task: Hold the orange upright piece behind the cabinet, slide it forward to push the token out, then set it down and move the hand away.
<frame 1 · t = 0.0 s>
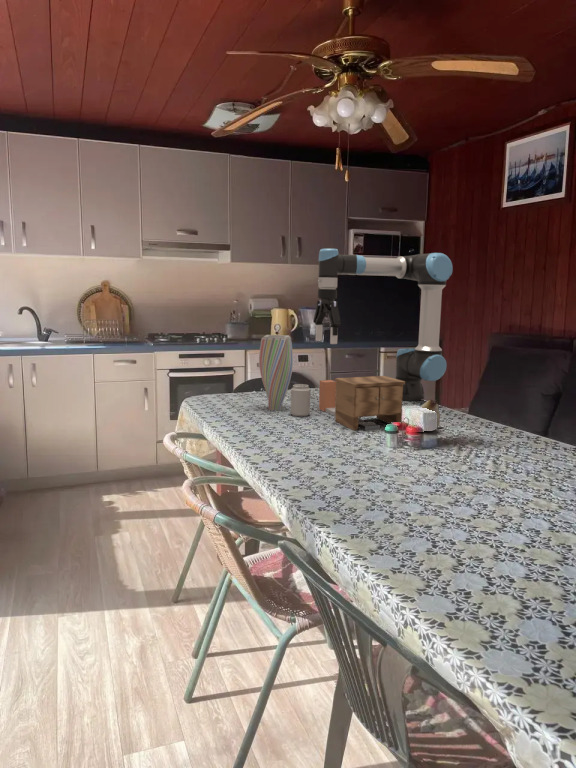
hand: (326, 342, 235), 28 cm above the table, fingers open, 13 cm apart
cabinet: (367, 423, 217), on the table
orange upright piece: (327, 409, 241), on the table
can: (300, 415, 230), on the table
token: (368, 429, 210), on the table
fruit: (425, 431, 208), on the table
vase: (275, 409, 241), on the table
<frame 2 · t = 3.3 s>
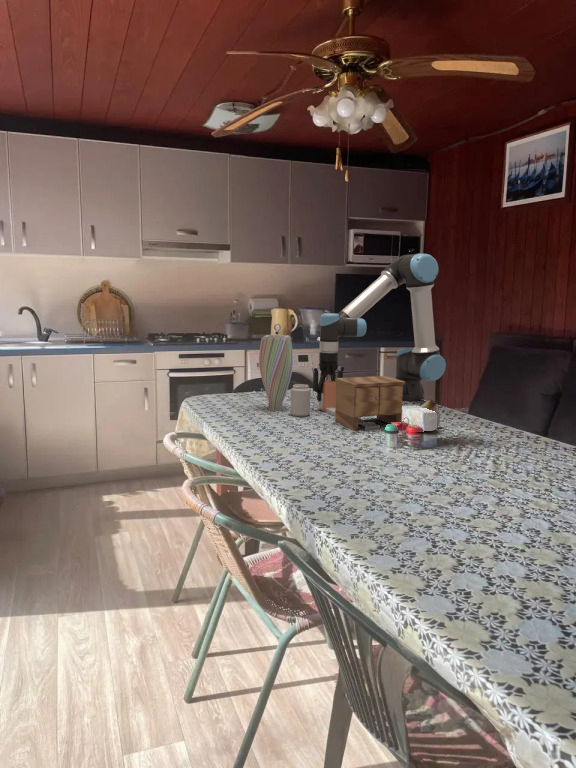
hand: (327, 408, 241), 1 cm above the table, fingers closed on orange upright piece, 5 cm apart
orange upright piece: (327, 409, 241), on the table, touching gripper
everything else where it was.
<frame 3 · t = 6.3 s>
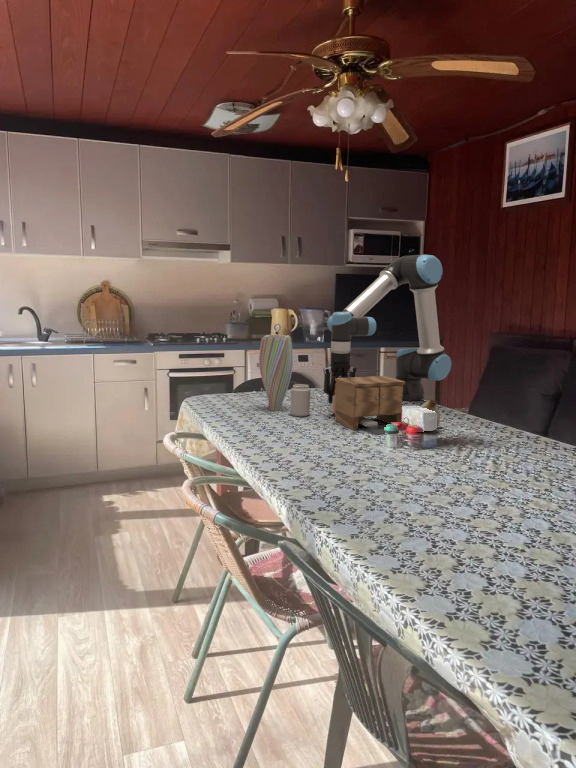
hand: (338, 410, 231), 2 cm above the table, fingers closed on orange upright piece, 5 cm apart
orange upright piece: (338, 412, 231), point 1 cm above the table, touching gripper
token: (378, 432, 204), on the table
everything else where it was.
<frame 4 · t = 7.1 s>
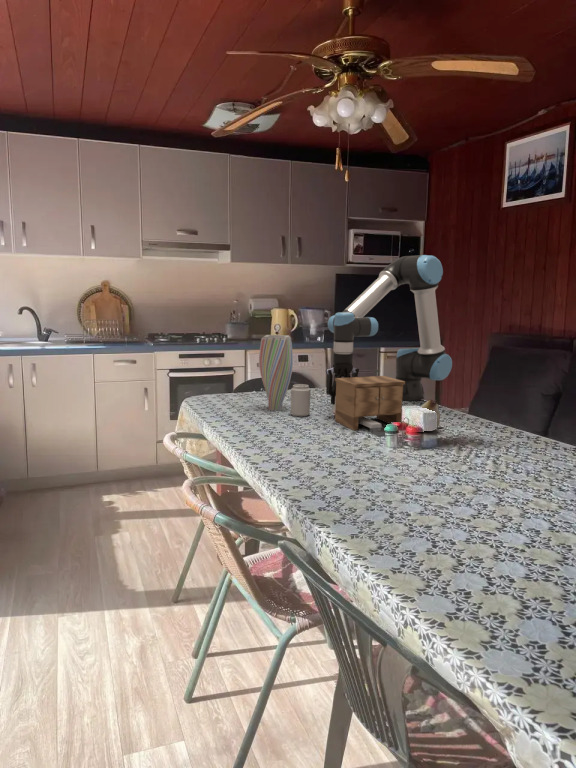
hand: (341, 411, 229), 2 cm above the table, fingers closed on orange upright piece, 5 cm apart
orange upright piece: (341, 413, 229), point 1 cm above the table, touching gripper
token: (381, 435, 203), on the table
everything else where it was.
when the fingers open (1 cm above the table, at t = 8.8 s): orange upright piece stays where it is, on the table.
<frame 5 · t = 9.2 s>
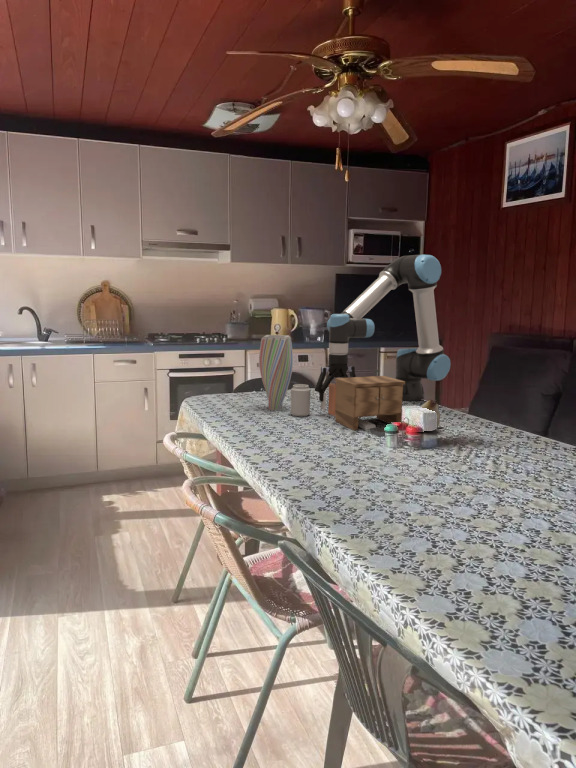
hand: (336, 408, 233), 2 cm above the table, fingers open, 11 cm apart
orange upright piece: (336, 414, 233), on the table
everything else where it was.
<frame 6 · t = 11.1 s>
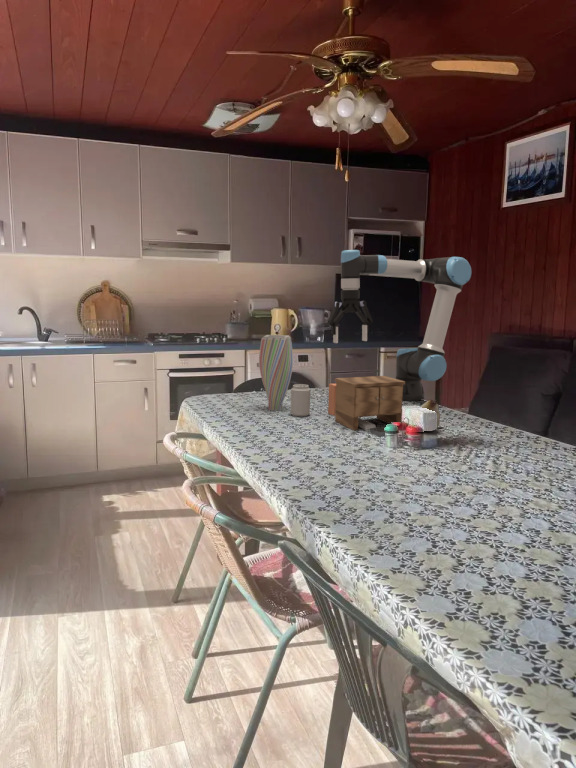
hand: (350, 341, 239), 28 cm above the table, fingers open, 13 cm apart
nothing on the table moved.
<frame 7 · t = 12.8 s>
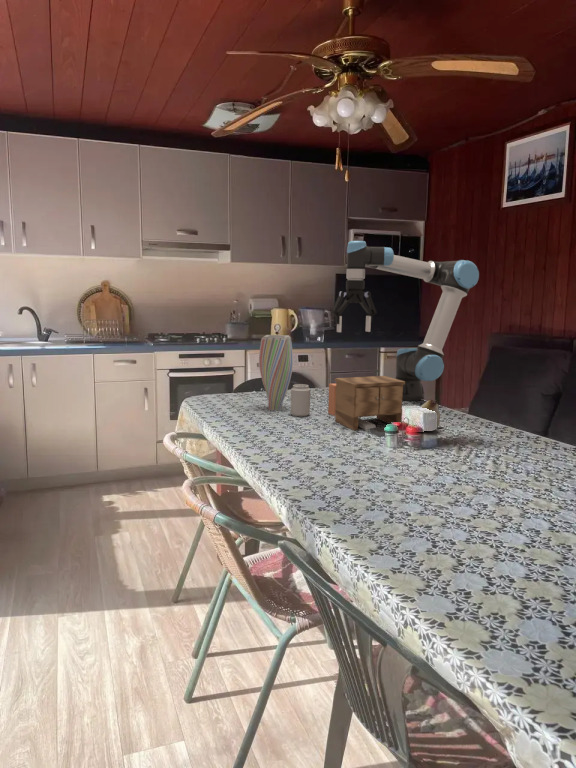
hand: (353, 331, 243), 32 cm above the table, fingers open, 13 cm apart
nothing on the table moved.
at the end: token inside the target area (4.8 cm from its centre), on the table; the gripper is holding nothing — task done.
